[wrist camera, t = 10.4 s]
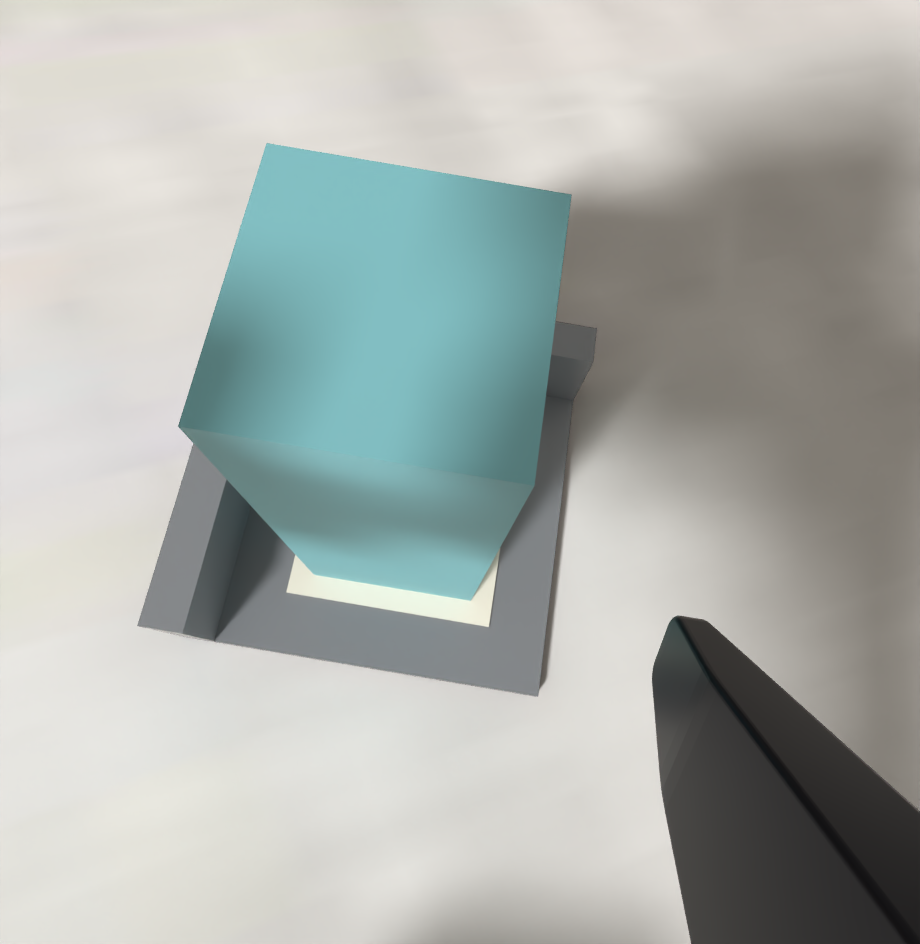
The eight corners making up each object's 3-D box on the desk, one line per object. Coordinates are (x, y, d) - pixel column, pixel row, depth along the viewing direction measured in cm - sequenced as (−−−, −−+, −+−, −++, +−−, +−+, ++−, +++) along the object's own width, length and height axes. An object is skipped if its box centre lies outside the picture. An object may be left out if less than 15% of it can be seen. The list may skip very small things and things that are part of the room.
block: (470, 600, 21) (534, 485, 9) (314, 574, 21) (178, 426, 9) (492, 453, 23) (571, 195, 11) (346, 429, 23) (267, 143, 11)
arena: (535, 696, 21) (556, 697, 18) (182, 636, 21) (137, 625, 18) (573, 377, 25) (596, 328, 21) (270, 325, 25) (247, 268, 21)
